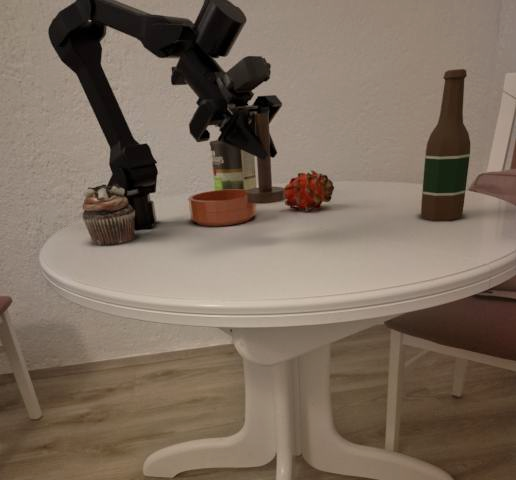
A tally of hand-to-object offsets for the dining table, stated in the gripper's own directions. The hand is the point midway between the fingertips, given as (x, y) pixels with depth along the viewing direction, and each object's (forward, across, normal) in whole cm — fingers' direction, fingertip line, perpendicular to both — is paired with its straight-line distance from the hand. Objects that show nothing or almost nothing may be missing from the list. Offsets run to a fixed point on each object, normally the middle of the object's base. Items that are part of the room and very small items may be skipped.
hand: (270, 156), depth 76 cm
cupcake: (-12, -10, +32) cm, 35 cm away
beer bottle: (+24, +26, -5) cm, 36 cm away
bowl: (-4, +11, +24) cm, 27 cm away
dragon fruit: (+5, +24, +15) cm, 29 cm away
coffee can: (-10, +27, +30) cm, 42 cm away
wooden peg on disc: (+4, 0, +6) cm, 7 cm away
